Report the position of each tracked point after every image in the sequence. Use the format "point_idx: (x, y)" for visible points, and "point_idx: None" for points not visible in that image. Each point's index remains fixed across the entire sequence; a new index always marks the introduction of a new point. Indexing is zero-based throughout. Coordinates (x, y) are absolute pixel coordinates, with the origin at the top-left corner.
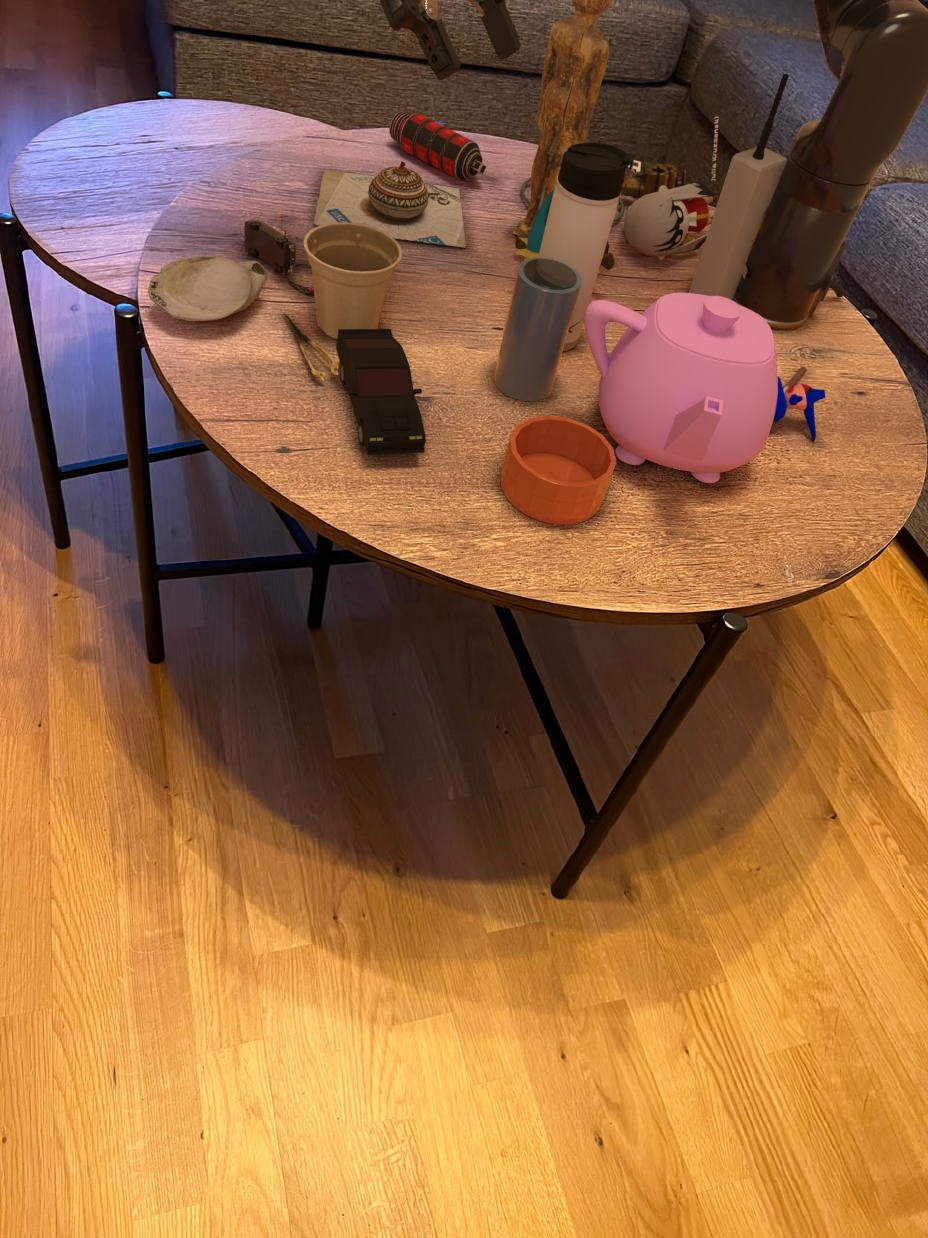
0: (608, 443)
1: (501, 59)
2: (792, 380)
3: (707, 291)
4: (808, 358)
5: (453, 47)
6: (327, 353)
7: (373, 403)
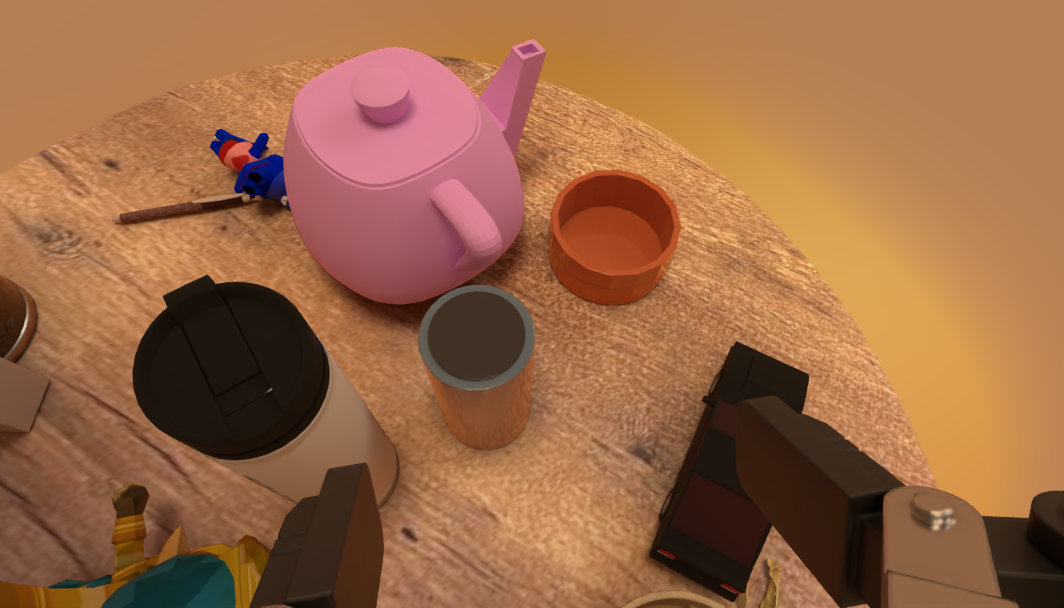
0: (557, 200)
1: (382, 534)
2: (168, 208)
3: (25, 390)
4: (75, 235)
5: (775, 427)
6: (747, 597)
7: None
